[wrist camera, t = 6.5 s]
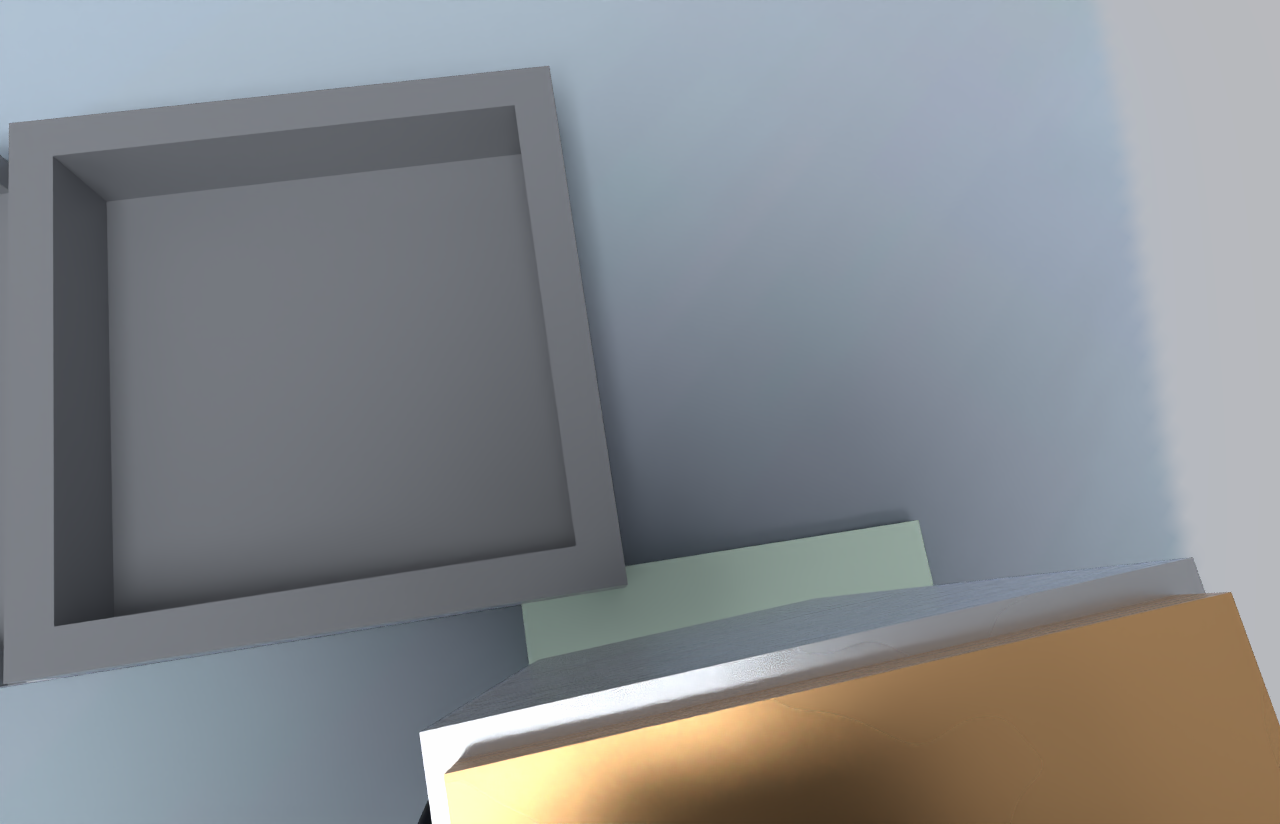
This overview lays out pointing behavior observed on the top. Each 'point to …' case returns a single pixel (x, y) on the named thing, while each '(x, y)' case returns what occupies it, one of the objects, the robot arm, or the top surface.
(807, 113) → the top surface
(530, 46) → the top surface
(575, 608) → the mat
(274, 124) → the grey compartment tray
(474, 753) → the block
